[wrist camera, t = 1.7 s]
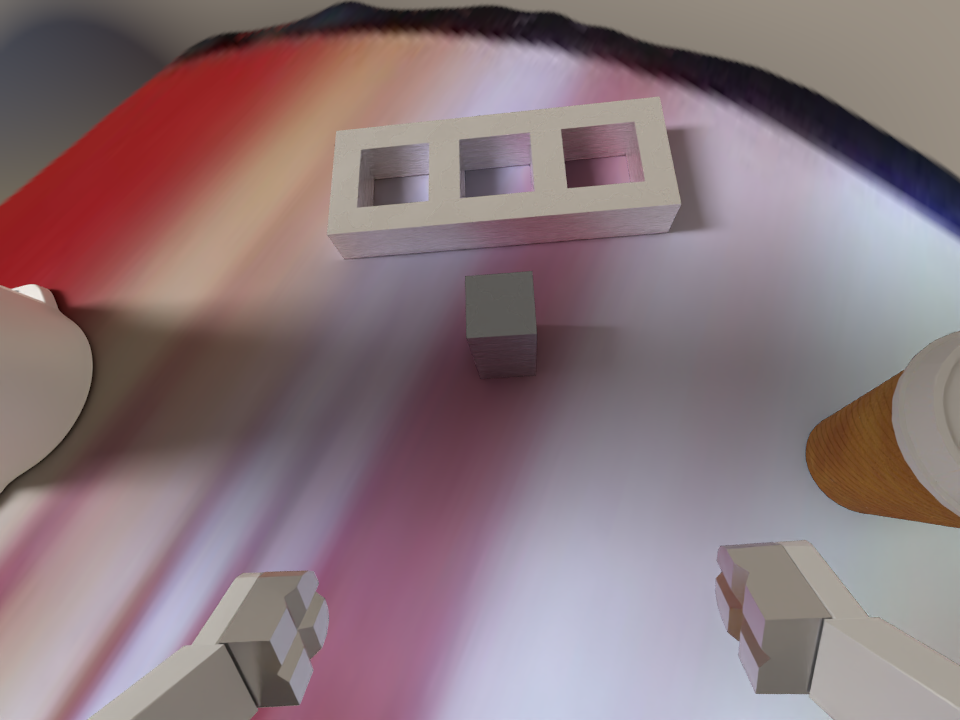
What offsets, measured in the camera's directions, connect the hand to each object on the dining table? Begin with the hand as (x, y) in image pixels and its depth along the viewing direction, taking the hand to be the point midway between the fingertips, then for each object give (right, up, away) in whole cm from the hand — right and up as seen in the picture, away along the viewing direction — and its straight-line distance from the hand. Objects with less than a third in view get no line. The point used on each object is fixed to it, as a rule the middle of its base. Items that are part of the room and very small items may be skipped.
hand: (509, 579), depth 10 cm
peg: (+1, +5, +25) cm, 26 cm away
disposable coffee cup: (+24, -2, +21) cm, 31 cm away
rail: (+1, +18, +30) cm, 35 cm away
